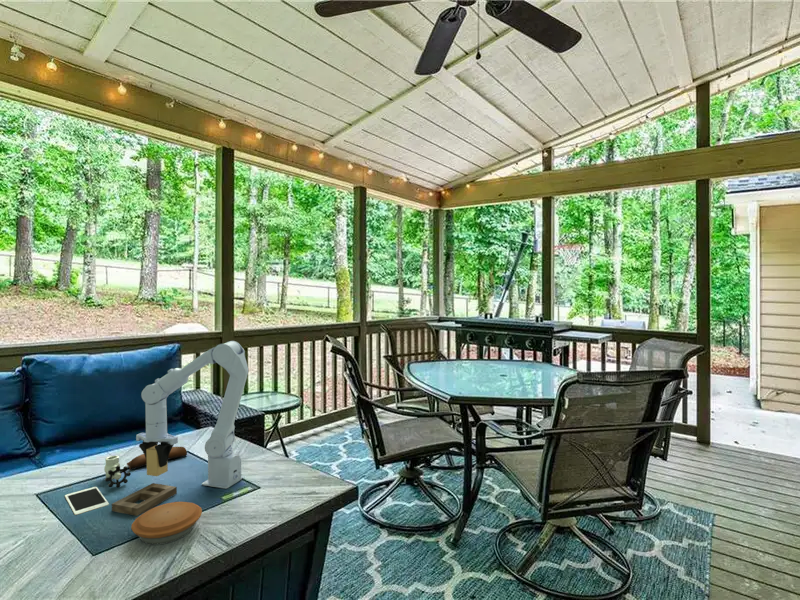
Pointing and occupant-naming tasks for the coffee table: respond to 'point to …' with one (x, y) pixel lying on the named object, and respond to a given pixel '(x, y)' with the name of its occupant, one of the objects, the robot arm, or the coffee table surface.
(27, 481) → the coffee table surface
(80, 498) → the cell phone
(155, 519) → the pie
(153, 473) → the square peg
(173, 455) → the sunglasses case
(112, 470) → the valve
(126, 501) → the socket block
